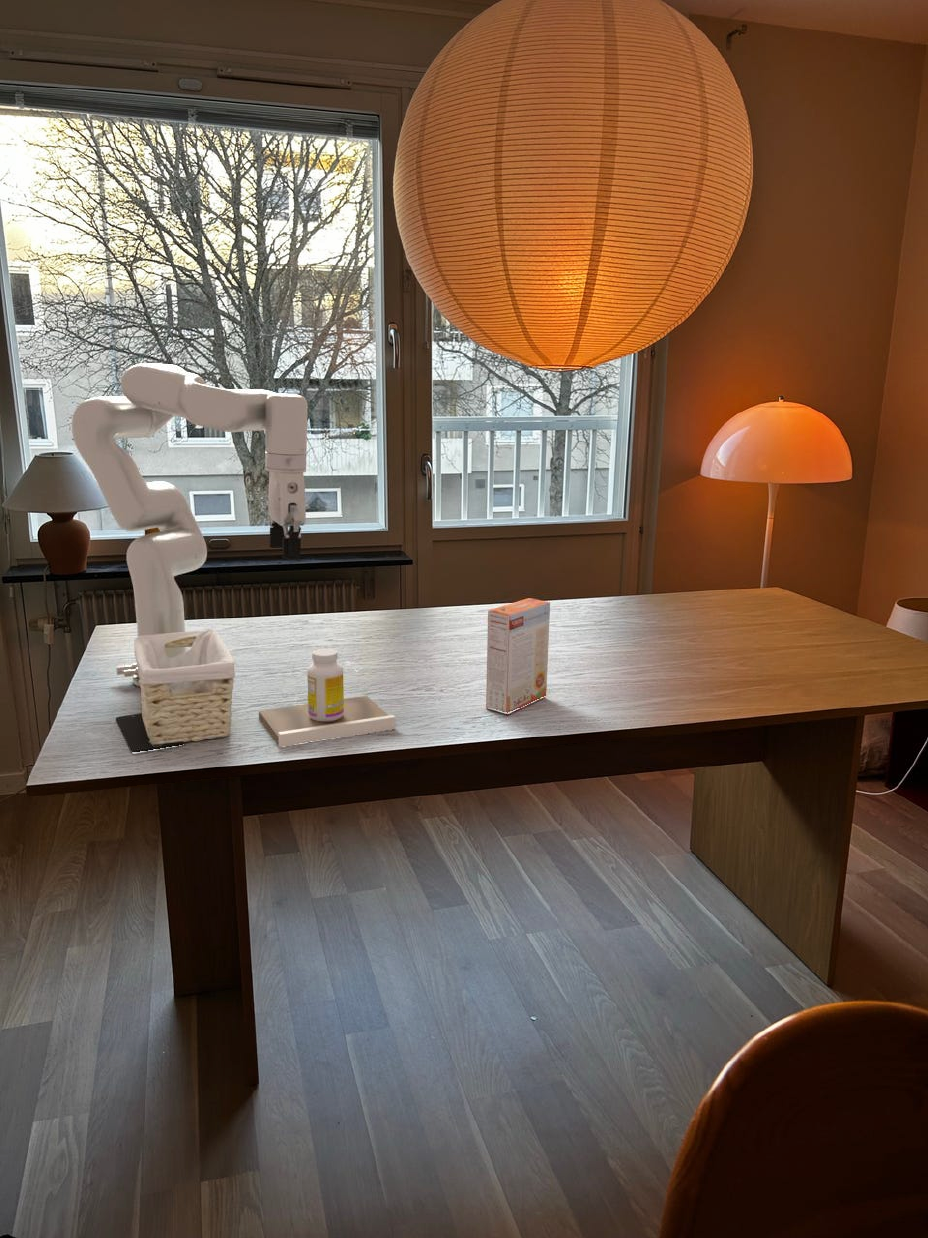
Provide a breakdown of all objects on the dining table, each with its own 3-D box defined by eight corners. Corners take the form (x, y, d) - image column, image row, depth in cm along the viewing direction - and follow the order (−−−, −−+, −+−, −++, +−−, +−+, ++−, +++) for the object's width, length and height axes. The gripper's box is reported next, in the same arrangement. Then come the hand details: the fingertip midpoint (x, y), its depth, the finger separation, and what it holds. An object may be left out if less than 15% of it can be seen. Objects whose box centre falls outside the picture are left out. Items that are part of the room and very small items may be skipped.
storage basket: (137, 705, 177) (131, 633, 173) (221, 696, 183) (217, 626, 179) (145, 752, 156) (139, 671, 152) (240, 740, 162) (236, 662, 158)
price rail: (280, 747, 159) (280, 734, 158) (278, 745, 160) (278, 732, 159) (395, 729, 168) (395, 717, 168) (392, 727, 169) (393, 714, 169)
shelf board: (278, 745, 160) (278, 737, 159) (259, 718, 172) (258, 711, 171) (392, 727, 169) (393, 719, 169) (366, 702, 181) (366, 695, 181)
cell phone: (132, 756, 154) (132, 751, 154) (115, 721, 169) (115, 716, 169) (185, 747, 159) (184, 742, 158) (163, 714, 174) (163, 709, 173)
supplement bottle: (348, 712, 172) (348, 648, 169) (337, 724, 166) (336, 658, 162) (315, 708, 173) (314, 645, 170) (302, 721, 167) (301, 655, 164)
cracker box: (523, 691, 191) (528, 596, 185) (547, 698, 187) (552, 601, 181) (483, 709, 180) (486, 608, 174) (507, 716, 176) (511, 614, 171)
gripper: (319, 469, 159) (317, 562, 164) (293, 456, 174) (291, 542, 179) (277, 468, 156) (276, 564, 161) (254, 456, 171) (254, 544, 176)
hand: (284, 553), depth 170 cm, fingers open, 9 cm apart
